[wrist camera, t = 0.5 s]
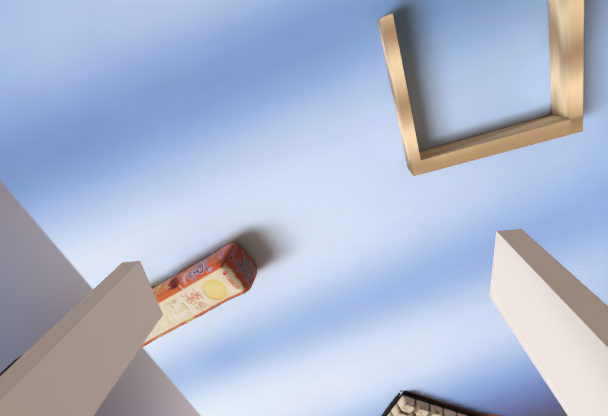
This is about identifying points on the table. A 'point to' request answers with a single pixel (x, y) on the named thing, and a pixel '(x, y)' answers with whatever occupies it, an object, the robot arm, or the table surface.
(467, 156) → the wooden open frame
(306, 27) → the table surface
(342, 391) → the table surface
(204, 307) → the snack package
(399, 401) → the mechanical keyboard
